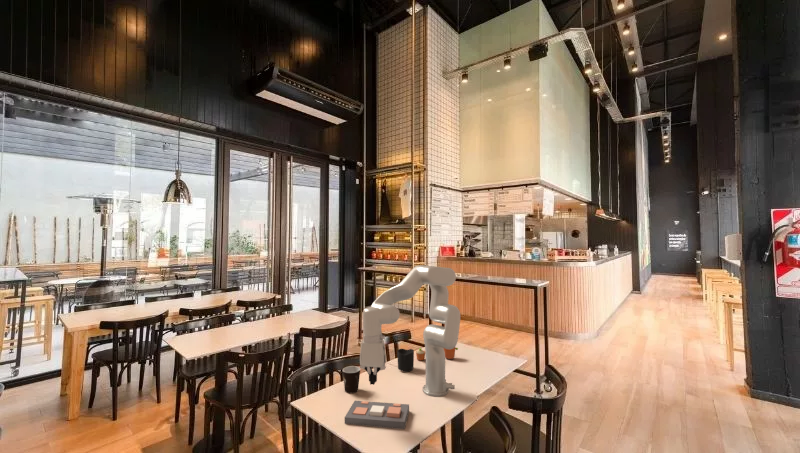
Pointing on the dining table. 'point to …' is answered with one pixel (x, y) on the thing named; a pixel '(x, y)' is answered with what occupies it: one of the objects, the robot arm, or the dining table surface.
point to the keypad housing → (377, 420)
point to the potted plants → (448, 352)
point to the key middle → (377, 411)
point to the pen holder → (405, 359)
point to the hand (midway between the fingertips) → (372, 383)
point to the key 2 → (394, 412)
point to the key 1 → (360, 411)
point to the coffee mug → (351, 378)
